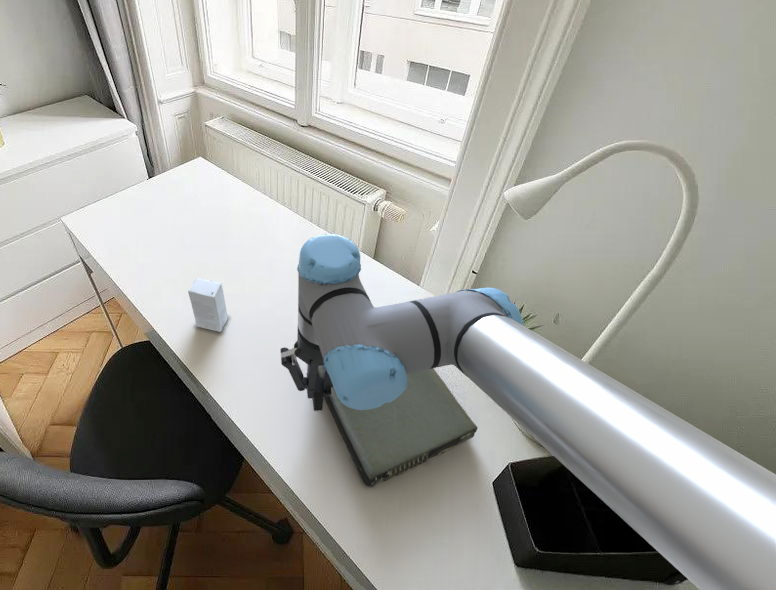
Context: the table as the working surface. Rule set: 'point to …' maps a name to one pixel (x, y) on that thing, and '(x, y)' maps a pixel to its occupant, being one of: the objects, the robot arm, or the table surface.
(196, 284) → the cosmetic box
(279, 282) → the table surface
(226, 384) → the table surface
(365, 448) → the network switch
